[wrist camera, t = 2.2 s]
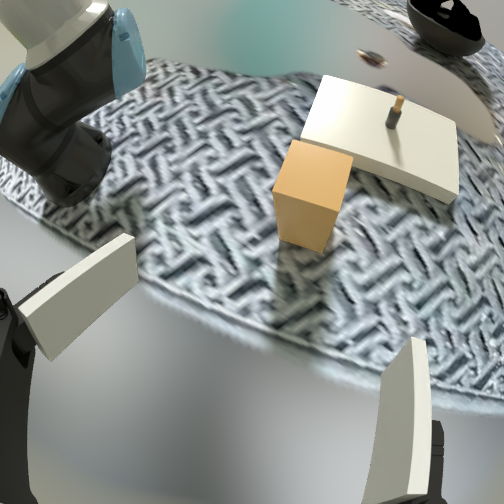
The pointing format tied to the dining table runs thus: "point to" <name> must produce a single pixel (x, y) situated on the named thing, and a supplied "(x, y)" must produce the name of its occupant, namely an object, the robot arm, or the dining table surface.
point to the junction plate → (386, 136)
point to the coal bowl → (446, 26)
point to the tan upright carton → (310, 194)
